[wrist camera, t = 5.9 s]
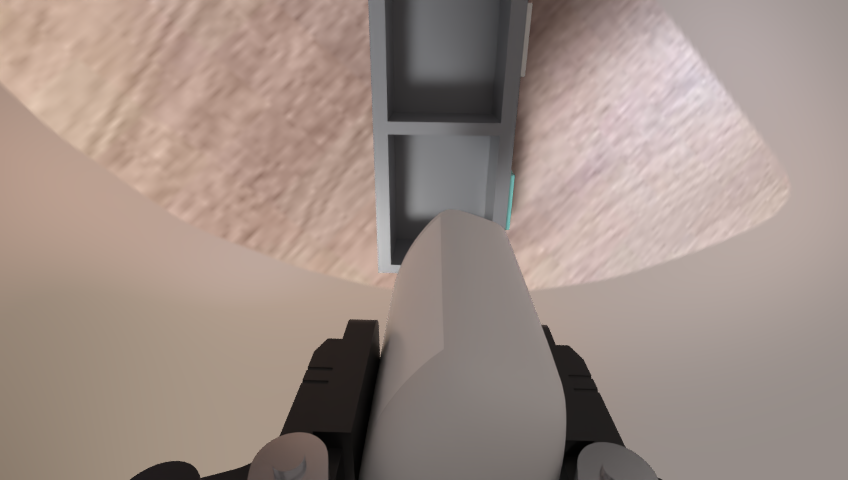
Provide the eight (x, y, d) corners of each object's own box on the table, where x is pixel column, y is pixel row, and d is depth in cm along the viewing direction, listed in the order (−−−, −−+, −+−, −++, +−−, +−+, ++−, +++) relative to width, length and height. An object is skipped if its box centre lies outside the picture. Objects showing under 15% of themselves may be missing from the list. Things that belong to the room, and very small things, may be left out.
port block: (380, -46, 21) (365, -73, 17) (519, -45, 21) (542, -72, 17) (388, 236, 28) (378, 272, 23) (494, 238, 28) (506, 275, 23)
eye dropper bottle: (344, 287, 15) (66, 990, 4) (468, 184, 13) (641, 901, 2) (427, 362, 16) (406, 1053, 5) (550, 277, 14) (932, 1032, 3)
